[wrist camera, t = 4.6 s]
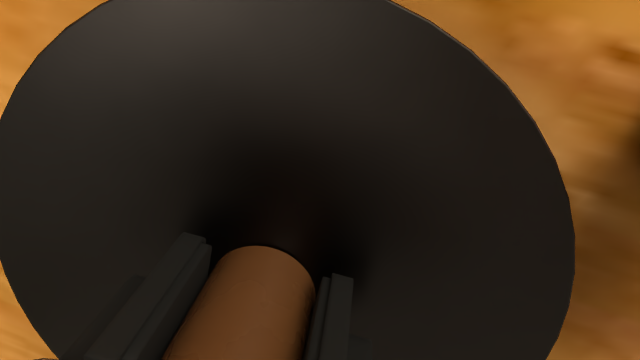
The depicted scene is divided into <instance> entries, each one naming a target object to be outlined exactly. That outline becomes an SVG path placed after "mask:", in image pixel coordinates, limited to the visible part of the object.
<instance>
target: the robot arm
mask: <svg viewBox="0 0 640 360" xmlns="http://www.w3.org/2000/svg"><path fill="white" fill-rule="evenodd" d="M211 252H212V246H211V245H207V244H206V239H205V238H204V237H200V236H197V235H193V234H189V233H186V232H183V233H182V234H181V235H180V236H179V237H178V239H177V240H176V241H175V242H174V244H173V245H172V246H171V247H170V249H169V250H168V251H167V252H166V254H165V255H164V256H163V257H162V259H161V260H160V261H159V262H158V264H157V265H156V266H155V267H154V269H153V270H152V271H151V272H150V273H149V275H148V276H147V277H143V276H139V275H133V276H131V277H130V278H129V279H128V280H127V281H126V282H125V283H124V285H123V286H122V287H121V288H120V289H119V290H118V292H117V293H116V294H115V295H114V296H113V297H112V298H111V300H110V301H109V302H108V303H107V304H106V305H105V307H104V308H103V309H102V310H101V311H100V312H99V314H98V315H97V316H96V317H95V318H94V319H93V321H92V322H91V323H90V324H89V325H88V326H87V328H86V329H85V330H84V331H83V332H82V333H81V335H80V336H79V337H78V338H77V339H76V340H75V342H74V343H73V344H72V345H71V346H70V347H69V348H68V350H67V351H66V352H65V353H64V354H63V355H62V357H61V358H60V359H59V360H160V359H161V357H162V356H163V354H164V352H165V351H166V349H167V347H168V346H169V344H170V342H171V340H172V339H173V337H174V335H175V334H176V332H177V330H178V329H179V327H180V325H181V323H182V322H183V320H184V318H185V317H186V315H187V313H188V311H189V310H190V308H191V306H192V305H193V303H194V301H195V300H196V298H197V296H198V294H199V293H200V291H201V289H202V288H203V286H204V284H205V283H206V281H207V277H208V271H209V265H210V258H211ZM352 293H353V278H349V277H346V276H342V275H339V274H335V273H332V275H331V278H327V277H324V276H323V277H322V280H321V283H320V287H319V290H318V293H317V297H316V300H315V303H314V307H313V311H312V316H311V321H310V326H309V330H308V335H307V340H306V345H305V350H304V355H303V360H372V341H371V340H370V339H366V338H363V337H359V336H356V335H352V334H349V328H350V316H351V304H352ZM35 360H57V359H48V358H41V359H35Z"/></svg>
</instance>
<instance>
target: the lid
mask: <svg viewBox="0 0 640 360" xmlns="http://www.w3.org/2000/svg"><path fill="white" fill-rule="evenodd" d="M183 232H186V233H189V234H193V235H197V236H200V237H204V238H205V239H206V244H207V245H211V246H212V252H211V258H210V265H209V271H208V277H207V281H206V283H205V284H204V286H203V288H202V289H201V291H200V293H199V294H198V296H197V298H196V300H195V301H194V303H193V305H192V306H191V308H190V310H189V311H188V313H187V315H186V317H185V318H184V320H183V322H182V323H181V325H180V327H179V329H178V330H177V332H176V334H175V335H174V337H173V339H172V340H171V342H170V344H169V346H168V347H167V349H166V351H165V352H164V354H163V356H162V357H161V359H160V360H303V355H304V350H305V345H306V340H307V335H308V330H309V326H310V321H311V316H312V311H313V307H314V303H315V300H316V297H317V293H318V290H319V287H320V283H321V280H322V277H323V276H324V277H327V278H331V275H332V273H335V274H339V275H342V276H346V277H349V278H353V293H352V304H351V316H350V328H349V334H352V335H356V336H359V337H363V338H366V339H370V340H371V341H372V360H546V359H547V357H548V355H549V353H550V351H551V349H552V348H553V346H554V344H555V342H556V340H557V339H558V336H559V333H560V330H561V328H562V325H563V322H564V319H565V316H566V313H567V311H568V308H569V303H570V297H571V292H572V286H573V280H574V275H575V233H574V227H573V221H572V215H571V209H570V203H569V197H568V194H567V192H566V189H565V186H564V183H563V180H562V177H561V174H560V171H559V168H558V165H557V162H556V160H555V158H554V156H553V154H552V152H551V150H550V148H549V146H548V145H547V143H546V141H545V139H544V137H543V135H542V133H541V132H540V130H539V128H538V126H537V124H536V122H535V121H534V119H533V118H532V117H531V115H530V114H529V113H528V111H527V110H526V109H525V107H524V106H523V105H522V104H521V102H520V101H519V100H518V98H517V97H516V96H515V94H514V93H513V92H512V90H511V89H510V88H509V86H508V85H507V84H506V83H505V82H504V81H503V80H502V79H501V78H500V77H499V76H498V75H497V74H496V73H495V72H494V71H493V70H492V69H491V68H489V67H488V66H487V65H486V64H485V63H484V62H483V61H482V60H481V59H480V58H479V57H478V56H477V55H476V54H475V53H474V52H473V51H472V50H471V49H469V48H468V47H466V46H465V45H464V44H462V43H461V42H459V41H458V40H457V39H455V38H454V37H452V36H451V35H450V34H448V33H447V32H445V31H444V30H443V29H441V28H440V27H438V26H437V25H435V24H434V23H433V22H431V21H430V20H428V19H426V18H424V17H422V16H421V15H419V14H417V13H415V12H413V11H411V10H409V9H407V8H405V7H403V6H401V5H399V4H397V3H395V2H393V1H391V0H108V1H106V2H104V3H102V4H100V5H98V6H97V7H95V8H94V9H92V10H91V11H89V12H88V13H87V14H85V15H84V16H82V17H81V18H79V19H78V20H76V21H75V22H73V23H72V24H70V25H69V26H68V27H66V28H65V29H64V30H63V31H62V32H61V33H60V34H59V35H58V36H57V37H56V38H55V39H54V40H53V41H52V42H51V43H50V44H49V45H48V46H47V47H46V48H45V49H44V50H43V51H41V52H40V53H39V54H38V56H37V57H36V58H35V60H34V61H33V63H32V64H31V65H30V67H29V68H28V70H27V71H26V72H25V74H24V75H23V77H22V78H21V79H20V81H19V82H18V84H17V85H16V87H15V89H14V91H13V93H12V95H11V97H10V99H9V102H8V104H7V106H6V108H5V110H4V112H3V114H2V116H1V119H0V260H1V263H2V266H3V269H4V273H5V275H6V277H7V279H8V281H9V284H10V286H11V288H12V290H13V292H14V294H15V297H16V299H17V301H18V303H19V304H20V306H21V308H22V309H23V311H24V313H25V314H26V316H27V318H28V319H29V321H30V322H31V324H32V326H33V327H34V329H35V330H36V331H37V333H38V334H39V335H40V337H41V338H42V339H43V341H44V342H45V343H46V344H47V346H48V347H49V348H50V350H51V351H52V352H53V353H54V354H55V355H56V356H57V358H58V359H60V358H61V357H62V355H63V354H64V353H65V352H66V351H67V350H68V348H69V347H70V346H71V345H72V344H73V343H74V342H75V340H76V339H77V338H78V337H79V336H80V335H81V333H82V332H83V331H84V330H85V329H86V328H87V326H88V325H89V324H90V323H91V322H92V321H93V319H94V318H95V317H96V316H97V315H98V314H99V312H100V311H101V310H102V309H103V308H104V307H105V305H106V304H107V303H108V302H109V301H110V300H111V298H112V297H113V296H114V295H115V294H116V293H117V292H118V290H119V289H120V288H121V287H122V286H123V285H124V283H125V282H126V281H127V280H128V279H129V278H130V277H131V276H133V275H139V276H143V277H147V276H148V275H149V273H150V272H151V271H152V270H153V269H154V267H155V266H156V265H157V264H158V262H159V261H160V260H161V259H162V257H163V256H164V255H165V254H166V252H167V251H168V250H169V249H170V247H171V246H172V245H173V244H174V242H175V241H176V240H177V239H178V237H179V236H180V235H181V234H182V233H183Z"/></svg>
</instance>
